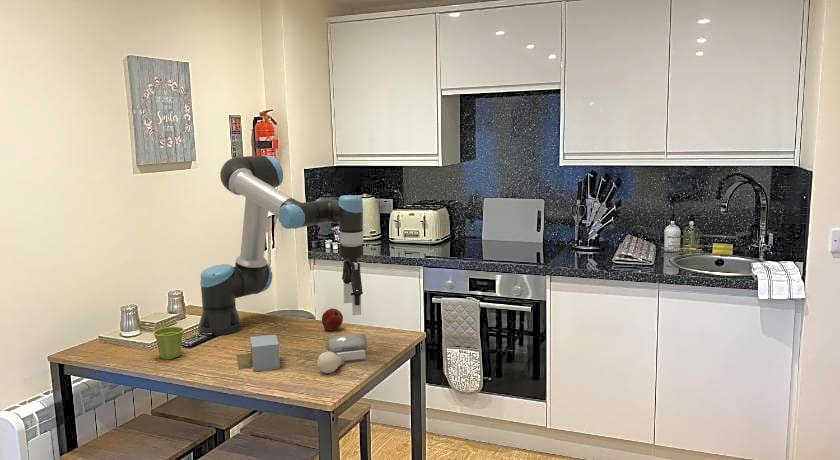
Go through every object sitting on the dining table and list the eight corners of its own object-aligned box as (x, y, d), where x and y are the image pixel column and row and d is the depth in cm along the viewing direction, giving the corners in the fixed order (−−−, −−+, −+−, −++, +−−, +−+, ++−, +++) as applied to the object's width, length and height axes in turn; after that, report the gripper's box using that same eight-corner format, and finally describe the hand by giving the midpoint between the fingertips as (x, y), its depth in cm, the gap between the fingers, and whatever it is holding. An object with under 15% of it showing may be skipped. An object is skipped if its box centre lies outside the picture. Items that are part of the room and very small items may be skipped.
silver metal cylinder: (329, 358, 209) (330, 345, 206) (326, 346, 214) (327, 333, 211) (366, 354, 213) (367, 341, 210) (362, 342, 217) (363, 329, 214)
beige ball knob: (336, 347, 205) (316, 348, 196) (353, 354, 203) (333, 356, 193) (330, 367, 205) (310, 369, 196) (347, 374, 203) (327, 377, 193)
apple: (330, 334, 233) (330, 312, 232) (317, 329, 239) (316, 308, 237) (346, 329, 239) (346, 308, 237) (333, 325, 244) (332, 304, 243)
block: (251, 360, 208) (250, 337, 207) (276, 357, 211) (275, 334, 209) (253, 371, 199) (251, 347, 198) (280, 368, 201) (278, 344, 200)
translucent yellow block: (237, 365, 204) (236, 354, 204) (263, 361, 207) (262, 351, 207) (239, 369, 201) (238, 358, 201) (265, 365, 204) (264, 354, 204)
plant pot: (155, 353, 216) (153, 328, 214) (185, 349, 219) (184, 325, 218) (154, 363, 207) (152, 336, 206) (185, 359, 210) (183, 333, 209)
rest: (329, 349, 218) (329, 339, 217) (356, 346, 220) (355, 337, 220) (337, 363, 204) (337, 354, 204) (365, 360, 207) (365, 350, 206)
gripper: (332, 237, 218) (333, 299, 221) (347, 252, 194) (348, 321, 198) (354, 236, 220) (355, 297, 224) (371, 251, 197) (372, 318, 200)
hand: (352, 308), depth 211 cm, fingers open, 13 cm apart
